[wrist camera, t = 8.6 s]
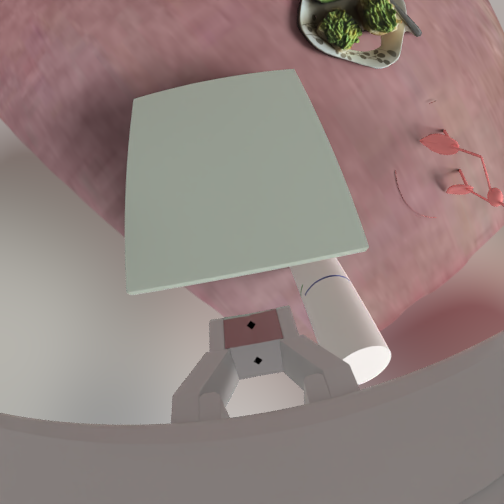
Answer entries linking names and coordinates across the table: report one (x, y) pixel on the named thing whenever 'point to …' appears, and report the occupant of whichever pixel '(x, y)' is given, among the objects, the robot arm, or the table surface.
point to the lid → (231, 184)
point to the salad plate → (356, 28)
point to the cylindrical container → (341, 318)
